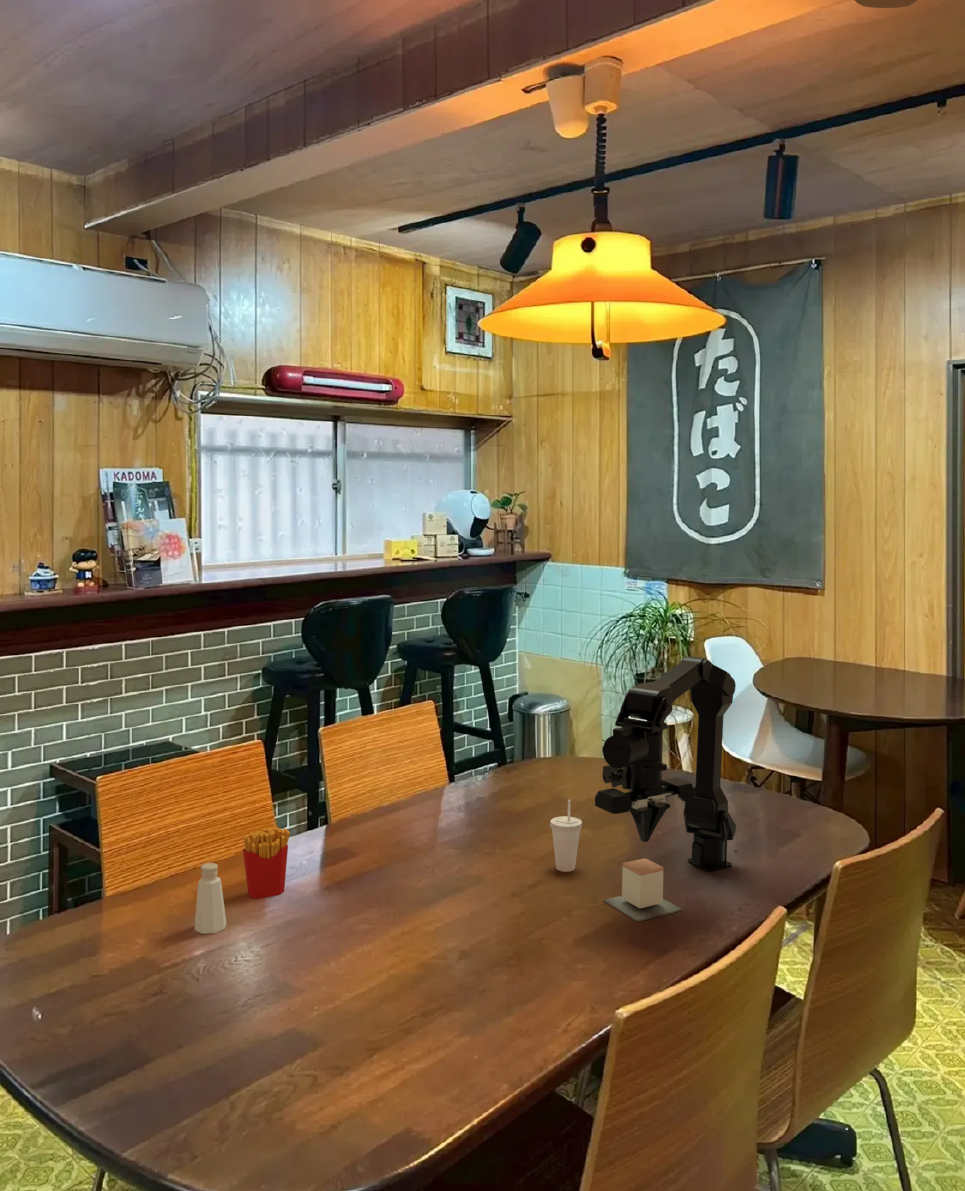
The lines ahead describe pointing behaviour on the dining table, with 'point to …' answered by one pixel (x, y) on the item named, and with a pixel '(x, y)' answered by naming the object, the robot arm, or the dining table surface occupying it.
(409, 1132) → the dining table surface
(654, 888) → the cream orange-topped box
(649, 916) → the grey flat square slab
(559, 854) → the smoothie
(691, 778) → the dining table surface
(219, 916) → the pepper shaker
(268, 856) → the french fries
